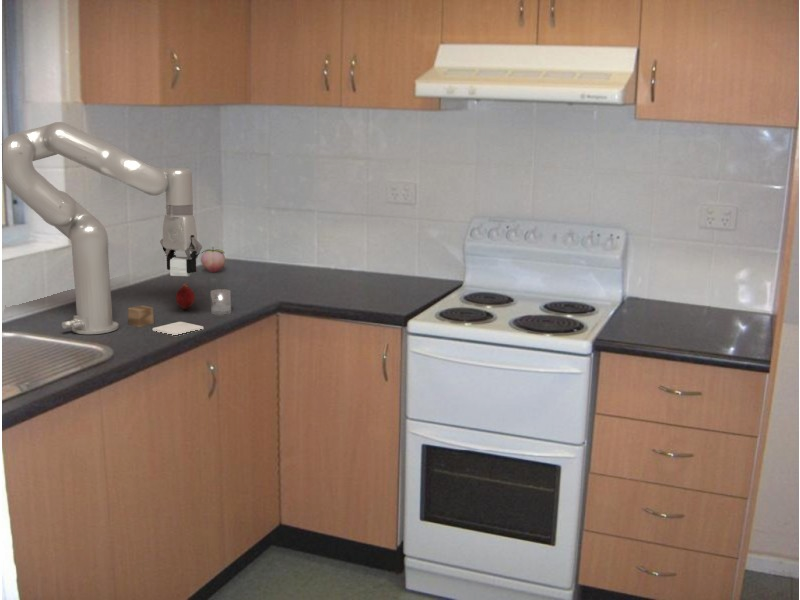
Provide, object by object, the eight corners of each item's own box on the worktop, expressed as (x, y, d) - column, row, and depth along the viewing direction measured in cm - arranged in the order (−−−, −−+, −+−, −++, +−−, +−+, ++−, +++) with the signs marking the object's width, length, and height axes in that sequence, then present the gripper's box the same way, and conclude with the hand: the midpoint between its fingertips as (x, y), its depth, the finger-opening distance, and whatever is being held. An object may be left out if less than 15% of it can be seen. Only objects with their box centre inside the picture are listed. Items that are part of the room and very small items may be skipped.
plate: (175, 336, 244) (175, 333, 244) (152, 330, 250) (152, 328, 250) (203, 329, 252) (203, 326, 252) (180, 324, 258) (180, 321, 258)
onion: (190, 311, 274) (189, 286, 272) (173, 310, 275) (171, 285, 273) (198, 307, 279) (197, 282, 277) (181, 306, 280) (180, 282, 278)
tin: (220, 316, 268) (219, 294, 266) (207, 313, 271) (206, 291, 270) (235, 312, 272) (234, 290, 271) (221, 310, 276) (221, 288, 274)
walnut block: (139, 327, 254) (138, 310, 253) (128, 324, 257) (127, 308, 256) (153, 324, 258) (152, 307, 257) (142, 321, 261) (142, 305, 260)
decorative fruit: (228, 270, 342) (227, 245, 340) (224, 274, 334) (223, 248, 332) (203, 270, 342) (202, 245, 339) (199, 274, 334) (198, 248, 331)
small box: (189, 276, 255) (189, 259, 254) (169, 276, 254) (169, 259, 253) (193, 272, 260) (192, 256, 259) (173, 272, 260) (173, 256, 259)
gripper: (149, 209, 255) (151, 269, 259) (190, 214, 245) (192, 276, 249) (169, 207, 261) (171, 265, 265) (210, 212, 251) (212, 272, 255)
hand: (181, 270), depth 257 cm, fingers closed on small box, 7 cm apart
